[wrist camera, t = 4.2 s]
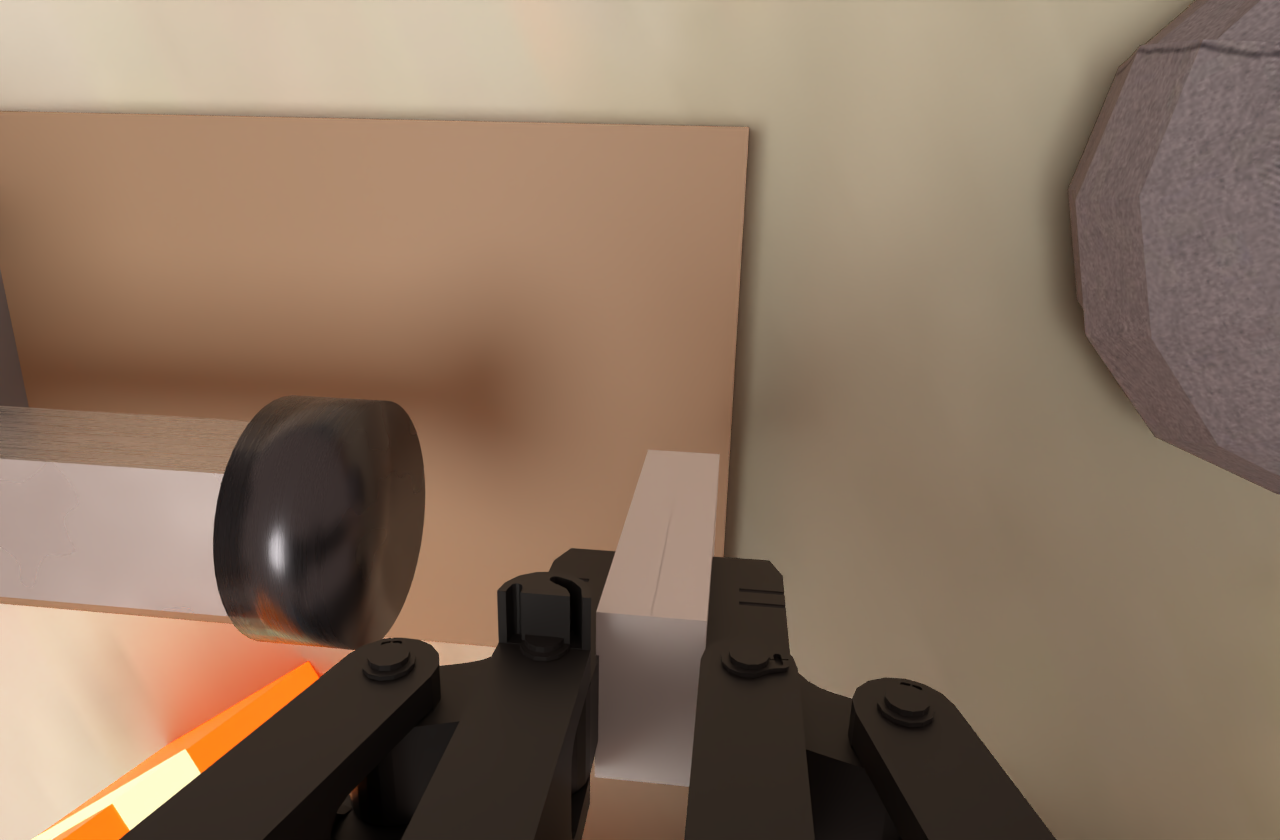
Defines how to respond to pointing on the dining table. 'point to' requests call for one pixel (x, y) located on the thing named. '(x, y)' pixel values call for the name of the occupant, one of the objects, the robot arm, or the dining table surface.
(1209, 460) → the grey rounded bag
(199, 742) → the orange juice
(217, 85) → the dining table surface
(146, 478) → the shaft
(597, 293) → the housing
